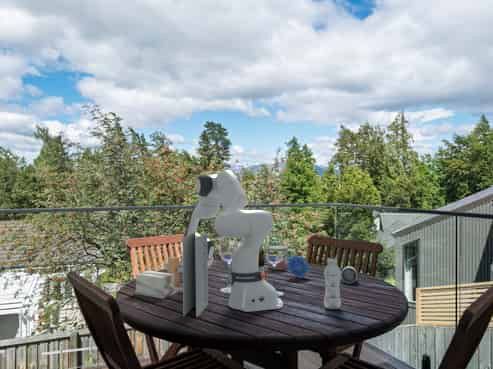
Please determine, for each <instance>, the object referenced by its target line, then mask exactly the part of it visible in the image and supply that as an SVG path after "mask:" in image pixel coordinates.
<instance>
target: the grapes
mask: <svg viewBox="0 0 493 369" xmlns="http://www.w3.org/2000/svg"><path fill="white" fill-rule="evenodd" d="M292 256H293V257H289V258H288V264H287V267H288V268H287V269H289V270H288V271H289V274H291V275H294V276H295V278H297V279H300V278H306V276H307V274H309V272H310V269H309V268H308V267H309V265H310V264H309V263H308V261H305V257H303V256H298V255H297V254H296V255H292Z"/></svg>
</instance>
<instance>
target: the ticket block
mask: <svg viewBox="0 0 493 369" xmlns="http://www.w3.org/2000/svg"><path fill="white" fill-rule="evenodd" d="M135 289H136V290H135V291H134V294H136V295H139V296H144V297H145V296H146V297H151V298H158V299H162V300H163V299H166V298H168V297H170V296H171V297H172V296H174V295H176V294H179V293H183V282H181V281H179V284H178V285H175V286H174V274H170V273H168V272H163V271H162V272H161V271H155V270H145V271H142V272H138V273H136V274H135Z"/></svg>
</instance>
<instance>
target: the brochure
mask: <svg viewBox="0 0 493 369" xmlns="http://www.w3.org/2000/svg"><path fill="white" fill-rule="evenodd" d="M200 235H201V236H198V237H196V234H195V233H192V234H190V235H187V236H185V237H182V239H181V241H182V240H183V243H182V260H183V272H182V283H183V291H182V304H183V307H182V311H183V312H182V314H183V317H185V316H186V315H187V314H188V313H189V312H191V310H192V309H193V308H194V307H195V315H196V316H195V317H196V318H197V317H199V316H198V315H201V314H202V312H204V311H205V309H207V307H208V306H209V267H208V245H207V238H208V232H205V233H202V234H200Z"/></svg>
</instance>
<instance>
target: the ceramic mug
mask: <svg viewBox="0 0 493 369" xmlns="http://www.w3.org/2000/svg"><path fill="white" fill-rule="evenodd" d="M357 277H358V272H357V270H356V268H355V267H353V266H349V265H348V266H345V267H344V268H343V269H342V271H341V276H340V281H343V282H344V283H346V284H353V283H354V282H355V281H356V280H357V279H358V278H357Z"/></svg>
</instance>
